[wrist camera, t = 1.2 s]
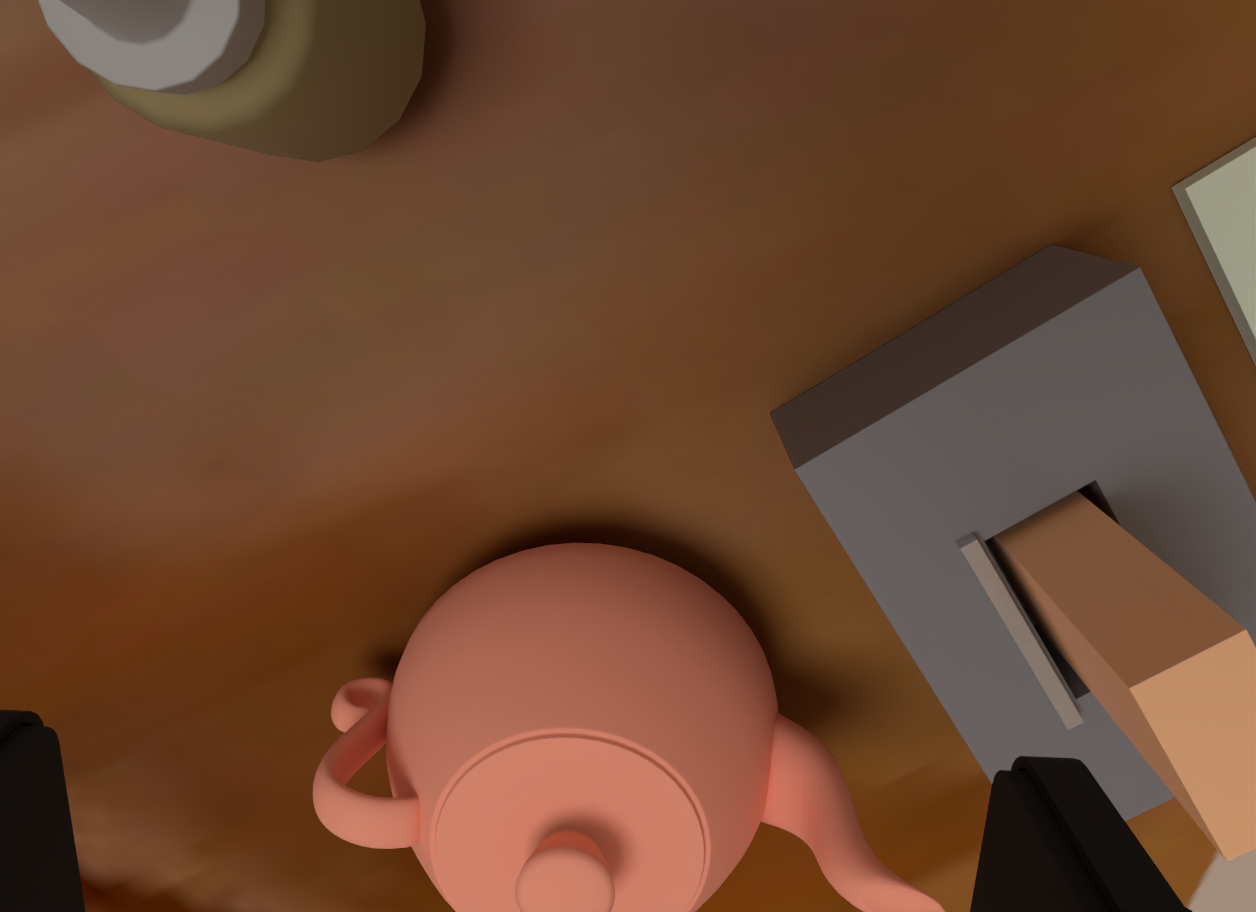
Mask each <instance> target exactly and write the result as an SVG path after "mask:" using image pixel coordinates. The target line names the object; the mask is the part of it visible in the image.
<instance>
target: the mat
mask: <svg viewBox="0 0 1256 912" xmlns="http://www.w3.org/2000/svg"><path fill="white" fill-rule="evenodd" d="M1171 188H1172V191H1173V193H1174V195H1175V197H1176V199H1177V201H1178V203H1179V205H1180V207H1181V210H1182V212H1183V214H1184V216H1185V218H1186V220H1187V222H1188V224H1189V226H1190V229H1191V231H1192V233H1193V235H1194V237H1195V239H1196V241H1197V243H1198V246H1199V248H1200V250H1201V252H1202V254H1203V256H1204V258H1205V260H1206V262H1207V265H1208V267H1209V269H1210V271H1211V273H1212V275H1213V277H1214V279H1215V281H1216V284H1217V286H1218V288H1219V290H1220V292H1221V294H1222V296H1223V298H1224V300H1225V303H1226V305H1227V307H1228V309H1229V311H1230V313H1231V315H1232V317H1233V319H1234V322H1235V324H1236V326H1237V328H1238V330H1239V332H1240V334H1241V336H1242V338H1243V341H1244V343H1245V345H1246V347H1247V349H1248V351H1249V353H1250V355H1251V357H1252V360H1253V362H1254V364H1255V366H1256V137H1255V138H1253V139H1251V140H1250V141H1248V142H1246V143H1245V144H1243V145H1241V146H1239V147H1238V148H1236V149H1234V150H1233V151H1231V152H1229V153H1228V154H1226V155H1224V156H1223V157H1221V158H1219V159H1218V160H1216V161H1214V162H1213V163H1211V164H1209V165H1208V166H1206V167H1204V168H1203V169H1201V170H1199V171H1198V172H1196V173H1194V174H1193V175H1191V176H1189V177H1188V178H1186V179H1184V180H1183V181H1181V182H1179V183H1178V184H1176V185H1174V186H1173V187H1171Z"/></svg>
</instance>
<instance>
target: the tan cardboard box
mask: <svg viewBox="0 0 1256 912" xmlns="http://www.w3.org/2000/svg"><path fill="white" fill-rule="evenodd" d="M986 541H987V542H988V544H989V546H990V548H991V549H992V551H993V553H994V554H995V556H996V558H997V560H998V561H999V563H1000V565H1001V566H1002V568H1003V570H1004V572H1005V573H1006V575H1007V577H1008V578H1009V580H1010V582H1011V584H1012V585H1013V587H1014V589H1015V591H1016V592H1017V594H1018V596H1019V597H1020V599H1021V601H1022V603H1023V604H1024V606H1025V608H1026V609H1027V611H1028V613H1029V615H1030V616H1031V617H1032V619H1033V620H1034V621H1035V622H1036V624H1037V625H1038V626H1039V627H1040V629H1041V630H1042V631H1043V632H1044V634H1045V635H1046V636H1047V637H1048V639H1049V640H1050V641H1051V642H1052V644H1053V645H1054V646H1055V647H1056V649H1057V650H1058V651H1059V652H1060V654H1061V655H1062V656H1063V657H1064V659H1065V660H1066V661H1067V662H1068V664H1069V665H1070V666H1071V667H1072V669H1073V670H1074V671H1075V672H1076V674H1077V675H1078V676H1079V677H1080V679H1081V680H1082V681H1083V682H1084V684H1085V685H1086V686H1087V687H1088V689H1089V690H1090V691H1091V692H1092V694H1093V695H1094V696H1095V697H1096V699H1097V700H1098V701H1099V702H1100V704H1101V705H1102V706H1103V707H1104V709H1105V710H1106V711H1107V712H1108V714H1109V715H1110V716H1111V717H1112V719H1113V720H1114V721H1115V722H1116V724H1117V725H1118V726H1119V727H1120V729H1121V730H1122V731H1123V732H1124V734H1125V735H1126V736H1127V737H1128V739H1129V740H1130V741H1131V742H1132V744H1133V745H1134V746H1135V747H1136V749H1137V750H1138V751H1139V752H1140V754H1141V755H1142V756H1143V757H1144V759H1145V760H1146V761H1147V762H1148V764H1149V765H1150V766H1151V767H1152V769H1153V770H1154V771H1155V772H1156V774H1157V775H1158V776H1159V777H1160V779H1161V780H1162V781H1163V782H1164V784H1165V785H1166V786H1167V787H1168V789H1169V790H1170V791H1171V792H1172V794H1173V795H1174V796H1175V797H1176V799H1177V800H1178V801H1179V802H1180V804H1181V805H1182V806H1183V807H1184V809H1185V810H1186V811H1187V812H1188V814H1189V815H1190V816H1191V817H1192V819H1193V820H1194V821H1195V822H1196V824H1197V825H1198V826H1199V827H1200V829H1201V830H1202V831H1203V832H1204V834H1205V835H1206V836H1207V837H1208V839H1209V840H1210V841H1211V842H1212V844H1213V845H1214V846H1215V847H1216V849H1217V850H1218V851H1219V852H1220V854H1221V855H1222V856H1223V857H1224V859H1225V860H1226V861H1227V862H1228V861H1230V860H1232V859H1234V858H1236V857H1238V856H1241V855H1243V854H1245V853H1247V852H1249V851H1252V850H1254V849H1256V647H1255V645H1254V643H1253V641H1252V639H1251V638H1250V636H1249V634H1248V632H1247V630H1246V629H1245V628H1244V627H1243V626H1242V625H1240V624H1239V623H1238V622H1237V621H1235V620H1234V619H1233V618H1232V617H1231V616H1229V615H1228V614H1227V613H1226V612H1225V611H1223V610H1222V609H1221V608H1220V607H1218V606H1217V605H1216V604H1215V603H1214V602H1212V601H1211V600H1210V599H1209V598H1207V597H1206V596H1205V595H1204V594H1203V593H1201V592H1200V591H1199V590H1198V589H1196V588H1195V587H1194V586H1193V585H1192V584H1190V583H1189V582H1188V581H1187V580H1185V579H1184V578H1183V577H1182V576H1181V575H1179V574H1178V573H1177V572H1176V571H1174V570H1173V569H1172V568H1171V567H1170V566H1168V565H1167V564H1166V563H1165V562H1163V561H1162V560H1161V559H1160V558H1159V557H1157V556H1156V555H1155V554H1154V553H1152V552H1151V551H1150V550H1149V549H1148V548H1146V547H1145V546H1144V545H1143V544H1142V543H1140V542H1139V541H1138V540H1137V539H1135V538H1134V537H1133V536H1132V535H1131V534H1129V533H1128V532H1127V531H1126V530H1124V529H1123V528H1122V527H1121V526H1120V525H1118V524H1117V523H1116V522H1115V521H1113V520H1112V519H1111V518H1110V517H1109V516H1107V515H1106V514H1105V513H1104V512H1102V511H1101V510H1100V509H1099V508H1098V507H1096V506H1095V505H1094V504H1093V503H1091V502H1090V501H1089V500H1088V499H1087V498H1085V497H1084V496H1083V495H1082V494H1080V493H1079V492H1078V491H1077V490H1076V491H1074V492H1073V493H1071V494H1069V495H1067V496H1065V497H1064V498H1062V499H1060V500H1058V501H1056V502H1054V503H1053V504H1051V505H1049V506H1047V507H1045V508H1044V509H1042V510H1040V511H1038V512H1036V513H1034V514H1033V515H1031V516H1029V517H1027V518H1025V519H1024V520H1022V521H1020V522H1018V523H1016V524H1014V525H1013V526H1011V527H1009V528H1007V529H1005V530H1004V531H1002V532H1000V533H998V534H996V535H994V536H993V537H991V538H989V539H987V540H986Z"/></svg>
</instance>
